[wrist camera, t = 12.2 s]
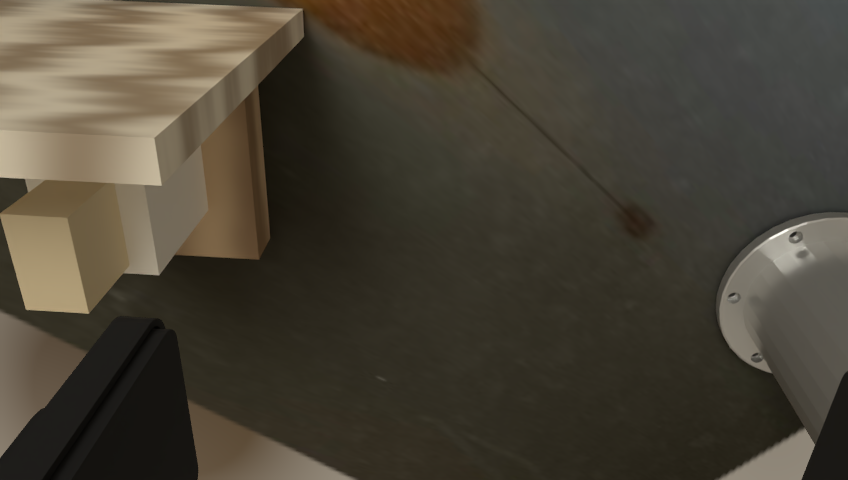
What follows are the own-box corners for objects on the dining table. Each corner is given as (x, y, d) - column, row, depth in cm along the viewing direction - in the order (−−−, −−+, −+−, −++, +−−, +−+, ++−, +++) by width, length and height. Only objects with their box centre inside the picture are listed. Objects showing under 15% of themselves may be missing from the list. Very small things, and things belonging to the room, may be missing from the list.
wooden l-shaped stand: (302, 8, 41) (154, 137, 22) (313, 240, 48) (209, 492, 29) (0, -5, 42) (-408, 109, 22) (56, 226, 49) (-216, 464, 29)
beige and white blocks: (189, 48, 39) (80, 120, 28) (208, 209, 44) (122, 324, 33) (83, 43, 40) (-65, 112, 29) (114, 204, 44) (-3, 316, 33)
